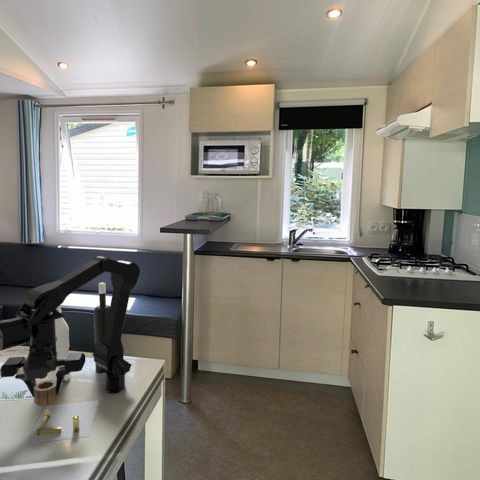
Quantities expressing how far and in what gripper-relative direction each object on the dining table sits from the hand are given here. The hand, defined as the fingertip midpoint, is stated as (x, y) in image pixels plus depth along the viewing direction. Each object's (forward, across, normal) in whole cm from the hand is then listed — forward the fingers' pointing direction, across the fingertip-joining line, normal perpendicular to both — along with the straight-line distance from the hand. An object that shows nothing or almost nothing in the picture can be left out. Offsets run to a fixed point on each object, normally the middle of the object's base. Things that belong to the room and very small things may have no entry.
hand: (46, 395), depth 97 cm
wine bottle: (+7, +10, +27) cm, 30 cm away
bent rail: (+6, +2, -3) cm, 7 cm away
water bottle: (+7, -2, +21) cm, 23 cm away
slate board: (+7, +5, -2) cm, 9 cm away
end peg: (+7, +8, -7) cm, 13 cm away
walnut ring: (+1, 0, 0) cm, 1 cm away
